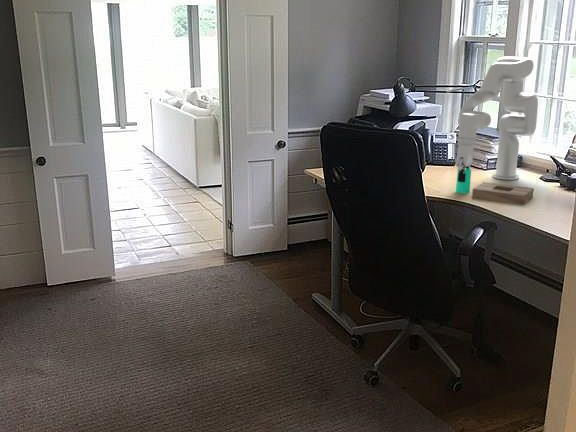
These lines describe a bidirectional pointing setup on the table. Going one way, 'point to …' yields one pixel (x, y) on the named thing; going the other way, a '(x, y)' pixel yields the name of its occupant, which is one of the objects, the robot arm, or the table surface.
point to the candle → (464, 186)
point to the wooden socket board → (503, 193)
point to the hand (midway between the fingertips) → (463, 180)
